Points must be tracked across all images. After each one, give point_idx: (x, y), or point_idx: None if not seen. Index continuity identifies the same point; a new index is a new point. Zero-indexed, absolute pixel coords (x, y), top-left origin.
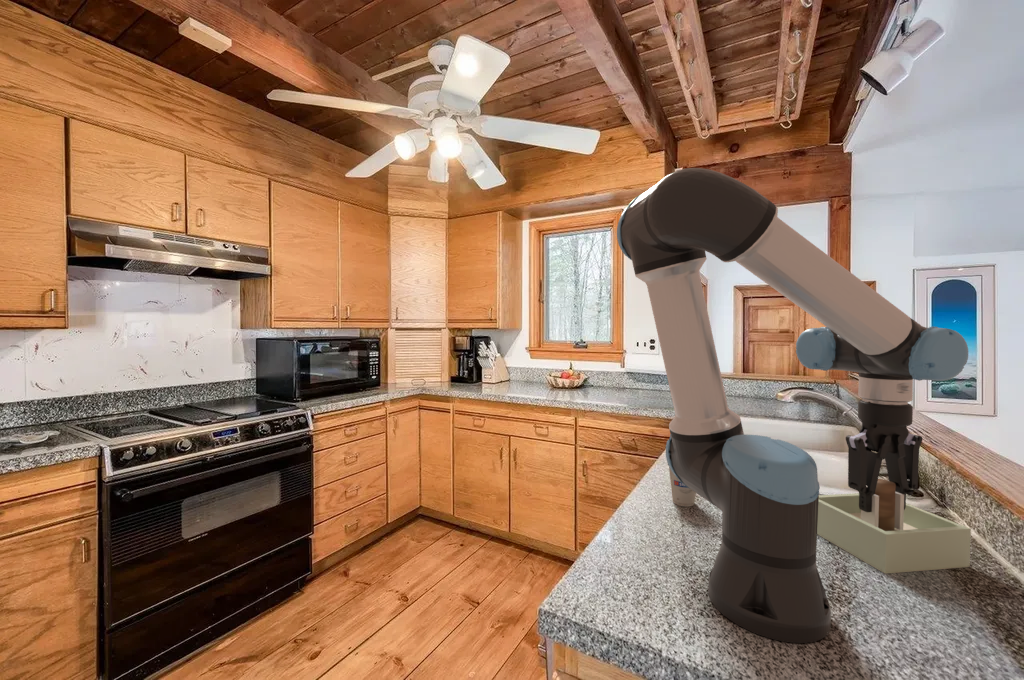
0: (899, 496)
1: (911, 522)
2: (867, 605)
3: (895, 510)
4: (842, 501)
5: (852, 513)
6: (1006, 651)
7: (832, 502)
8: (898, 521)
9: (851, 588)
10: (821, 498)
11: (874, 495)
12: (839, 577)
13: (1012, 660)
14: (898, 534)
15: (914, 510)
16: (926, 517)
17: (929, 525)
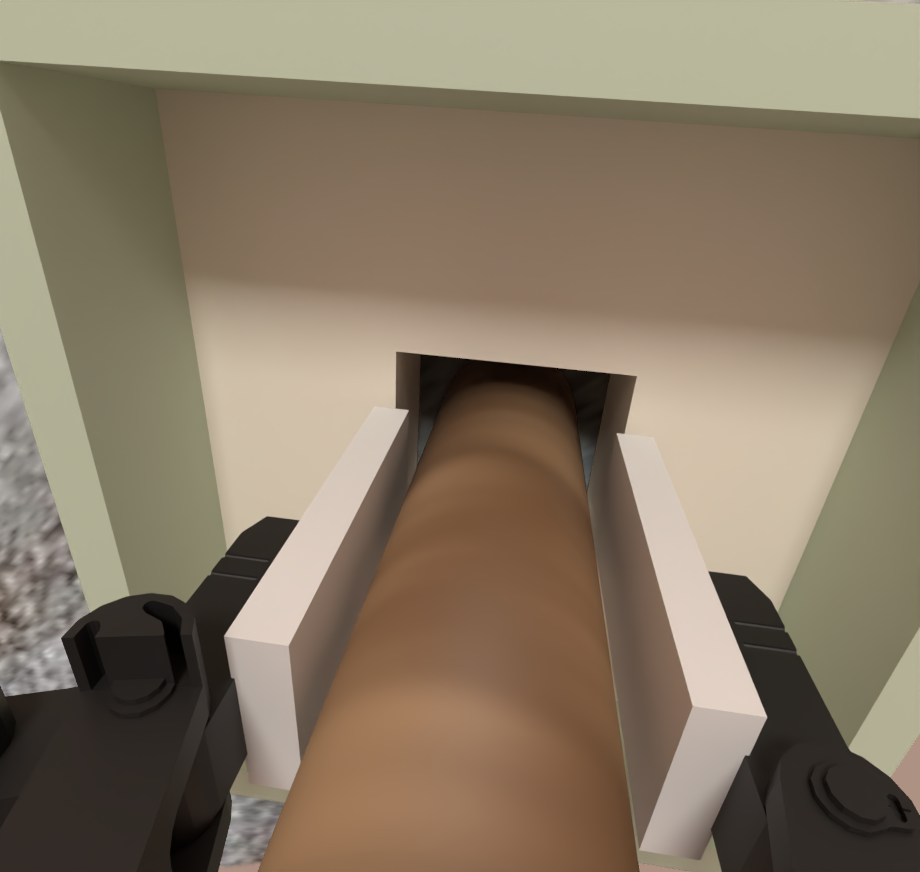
0: (639, 809)
1: (848, 498)
2: (38, 683)
3: (618, 616)
4: (460, 96)
5: (595, 132)
6: (263, 851)
7: (301, 88)
8: (603, 573)
9: (43, 618)
10: (91, 66)
11: (259, 771)
12: (40, 563)
13: (245, 862)
14: (232, 788)
15: (913, 600)
16: (851, 671)
17: (813, 642)
